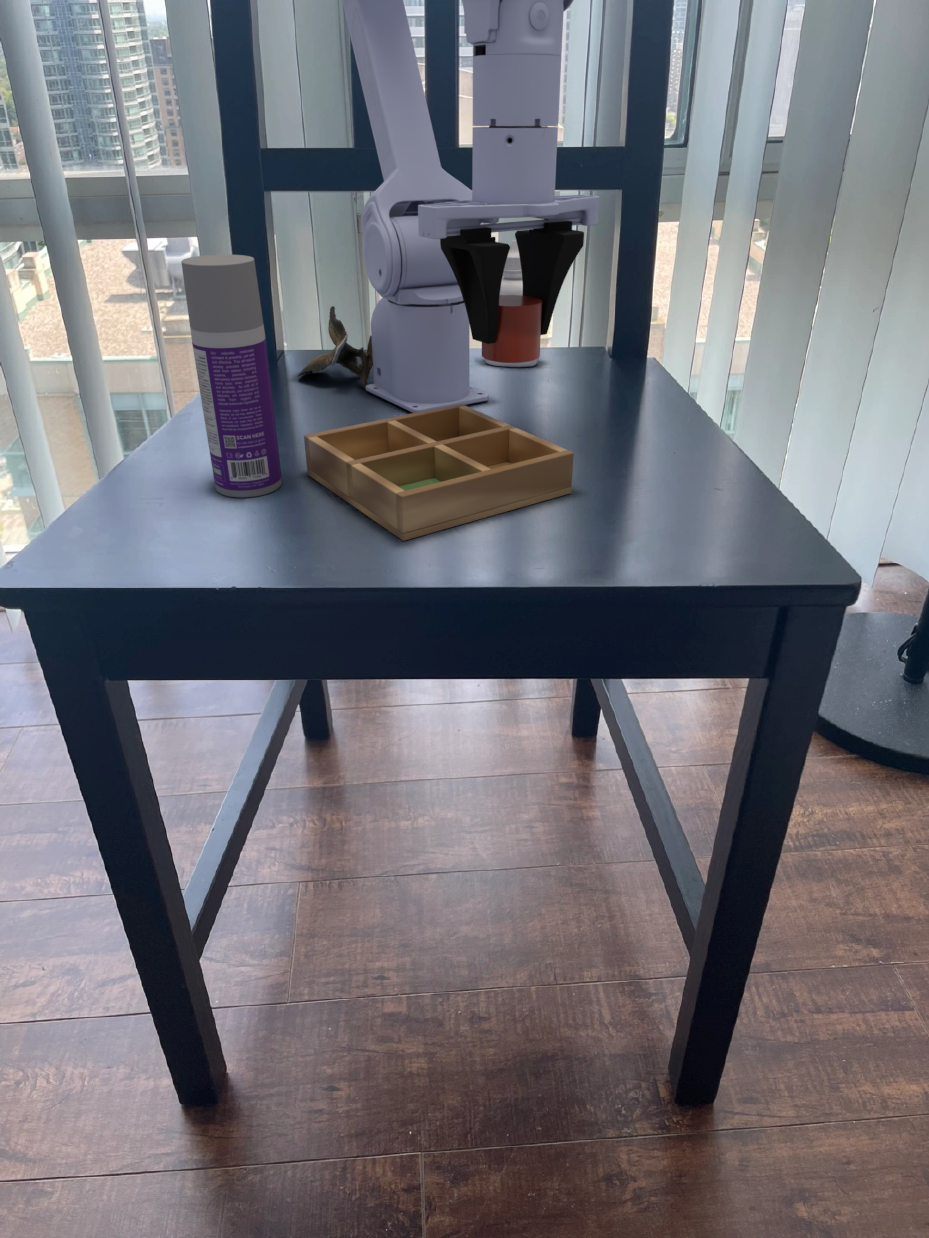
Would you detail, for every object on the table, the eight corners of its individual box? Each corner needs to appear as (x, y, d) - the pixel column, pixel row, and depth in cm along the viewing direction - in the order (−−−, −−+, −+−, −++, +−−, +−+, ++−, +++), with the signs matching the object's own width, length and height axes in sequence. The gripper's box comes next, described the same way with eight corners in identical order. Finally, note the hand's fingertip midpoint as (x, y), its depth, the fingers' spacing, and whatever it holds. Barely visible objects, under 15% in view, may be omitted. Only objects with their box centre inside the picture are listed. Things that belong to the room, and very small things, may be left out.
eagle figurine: (406, 363, 85) (342, 335, 89) (384, 309, 79) (316, 281, 83) (359, 418, 83) (295, 387, 87) (332, 367, 77) (265, 336, 81)
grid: (307, 474, 63) (303, 435, 61) (461, 439, 69) (461, 403, 68) (403, 541, 53) (401, 496, 52) (571, 493, 60) (574, 452, 58)
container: (294, 477, 62) (270, 256, 55) (260, 501, 58) (229, 267, 51) (238, 469, 64) (207, 252, 56) (202, 492, 60) (163, 263, 52)
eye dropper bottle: (520, 372, 87) (525, 245, 81) (477, 363, 90) (478, 240, 84) (545, 363, 90) (551, 240, 84) (502, 355, 93) (505, 236, 87)
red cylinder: (470, 354, 65) (470, 299, 63) (515, 346, 67) (517, 293, 65) (505, 366, 62) (506, 308, 60) (551, 357, 64) (554, 301, 62)
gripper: (460, 129, 51) (461, 361, 58) (636, 127, 58) (617, 333, 65) (398, 128, 56) (405, 341, 63) (567, 126, 63) (557, 318, 70)
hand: (509, 336), depth 64 cm, fingers closed on red cylinder, 4 cm apart
